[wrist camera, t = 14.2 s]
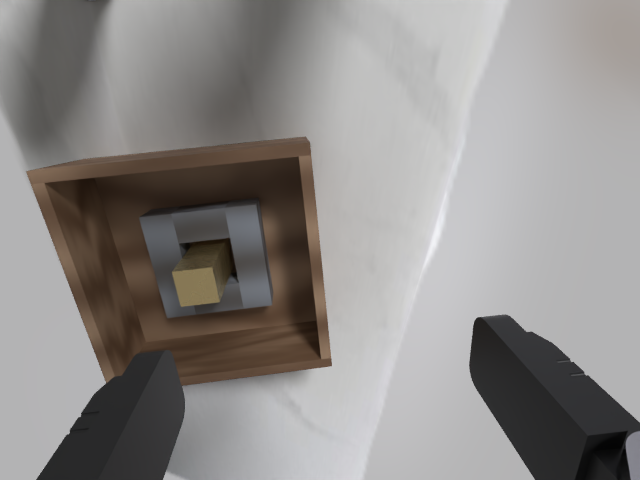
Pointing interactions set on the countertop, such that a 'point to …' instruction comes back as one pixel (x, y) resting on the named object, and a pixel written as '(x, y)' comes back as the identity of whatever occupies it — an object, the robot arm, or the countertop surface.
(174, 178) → the walled box
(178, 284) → the tan wooden block
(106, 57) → the countertop surface
